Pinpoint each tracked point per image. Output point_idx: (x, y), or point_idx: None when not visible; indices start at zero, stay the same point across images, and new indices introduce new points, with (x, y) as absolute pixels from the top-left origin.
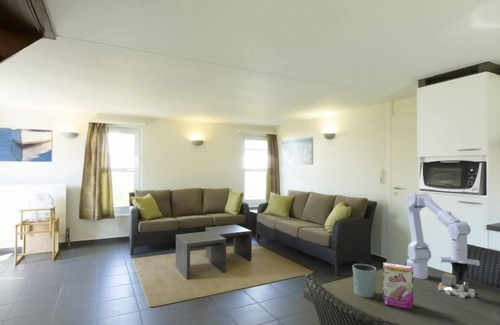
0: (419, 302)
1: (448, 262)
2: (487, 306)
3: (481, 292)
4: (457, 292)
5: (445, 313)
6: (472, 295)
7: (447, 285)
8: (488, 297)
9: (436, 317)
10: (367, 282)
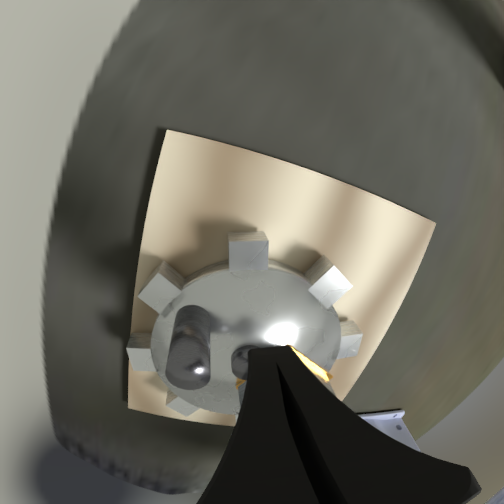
0: (486, 124)
1: (491, 501)
2: (102, 163)
3: (95, 379)
4: (275, 270)
5: (414, 7)
6: (160, 267)
7: (306, 364)
8: (68, 325)
9: None
10: None
